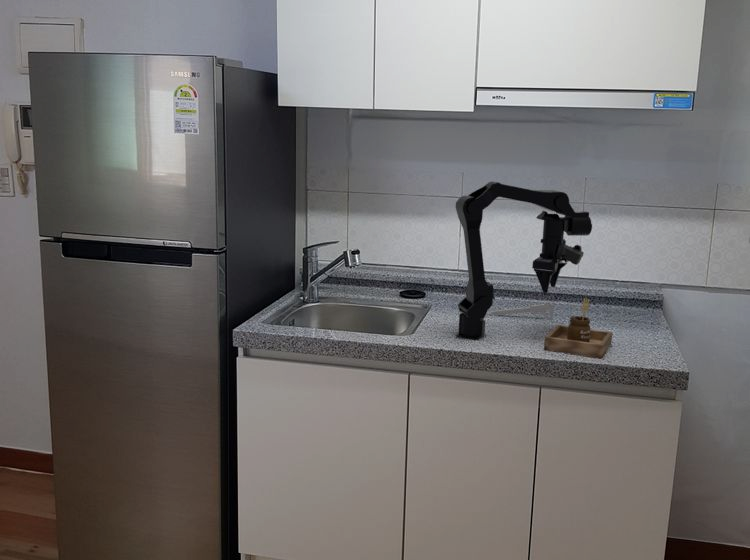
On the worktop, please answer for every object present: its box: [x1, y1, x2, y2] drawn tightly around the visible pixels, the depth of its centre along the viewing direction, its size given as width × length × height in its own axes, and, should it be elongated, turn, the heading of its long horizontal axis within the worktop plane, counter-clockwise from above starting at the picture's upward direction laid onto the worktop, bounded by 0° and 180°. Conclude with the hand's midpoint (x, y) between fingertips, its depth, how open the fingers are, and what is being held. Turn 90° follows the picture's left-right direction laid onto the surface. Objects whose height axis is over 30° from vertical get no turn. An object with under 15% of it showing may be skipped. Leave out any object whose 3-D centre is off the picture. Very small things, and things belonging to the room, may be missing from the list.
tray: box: [543, 324, 613, 359], centre depth 198 cm, size 15×15×4 cm
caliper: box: [486, 300, 554, 321], centre depth 229 cm, size 20×1×6 cm, turn 78°
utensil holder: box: [567, 297, 591, 343], centre depth 197 cm, size 6×6×12 cm
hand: (549, 289), depth 208 cm, fingers open, 9 cm apart
